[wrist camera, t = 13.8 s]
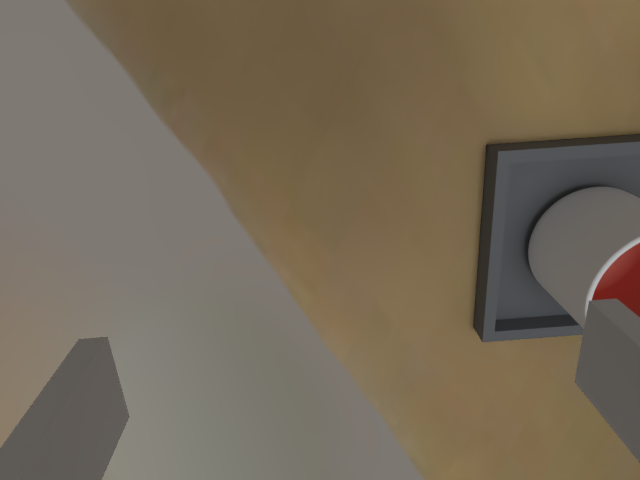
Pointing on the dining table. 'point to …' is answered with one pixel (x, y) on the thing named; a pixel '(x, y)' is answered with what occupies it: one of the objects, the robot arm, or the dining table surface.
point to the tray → (521, 218)
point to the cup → (589, 250)
